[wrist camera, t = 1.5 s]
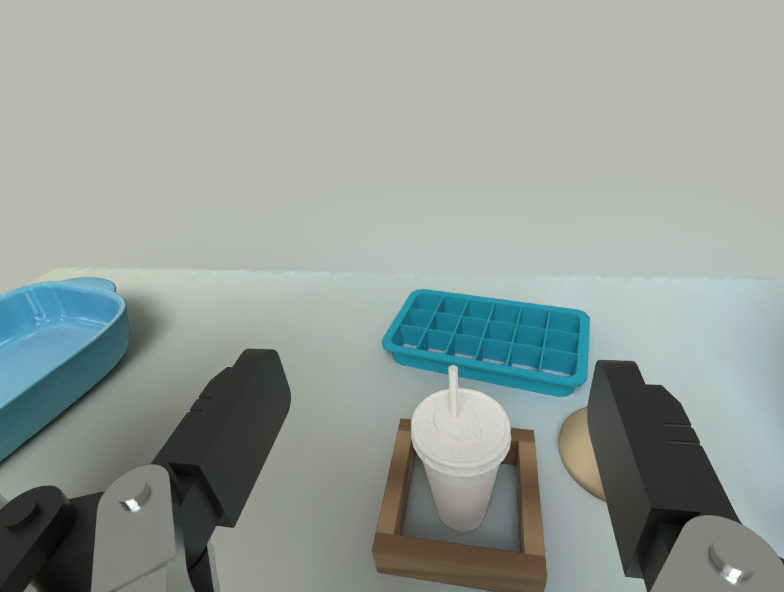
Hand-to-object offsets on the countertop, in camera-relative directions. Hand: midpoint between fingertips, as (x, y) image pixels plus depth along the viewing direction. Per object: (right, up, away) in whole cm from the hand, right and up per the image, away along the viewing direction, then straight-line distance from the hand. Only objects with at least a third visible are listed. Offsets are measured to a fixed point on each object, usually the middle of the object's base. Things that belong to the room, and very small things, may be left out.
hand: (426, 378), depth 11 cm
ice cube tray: (+9, -4, +37) cm, 38 cm away
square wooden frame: (+4, -14, +22) cm, 26 cm away
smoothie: (+4, -14, +22) cm, 27 cm away
